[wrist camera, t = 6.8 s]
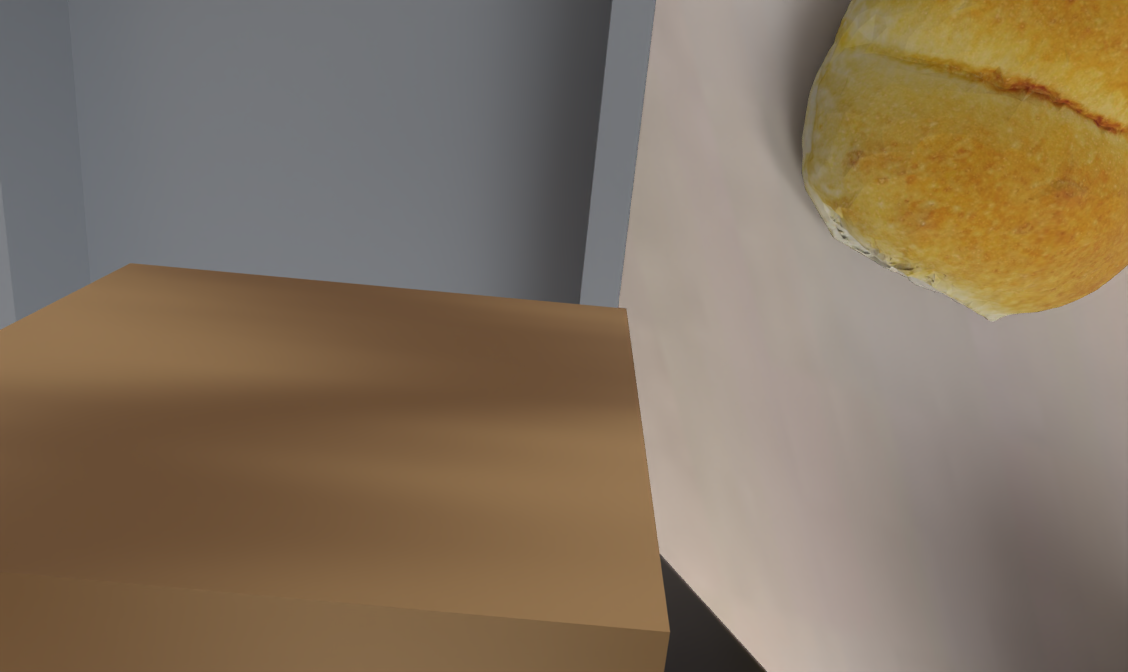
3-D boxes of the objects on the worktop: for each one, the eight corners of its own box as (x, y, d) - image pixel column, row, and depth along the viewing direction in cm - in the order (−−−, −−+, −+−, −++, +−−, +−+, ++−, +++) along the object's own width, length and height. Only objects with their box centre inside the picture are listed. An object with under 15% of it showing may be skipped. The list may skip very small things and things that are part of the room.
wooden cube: (625, 308, 9) (670, 633, 4) (579, 705, 10) (571, 1260, 6) (130, 263, 9) (-401, 534, 4) (162, 668, 10) (-189, 1195, 6)
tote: (700, -437, 17) (723, -552, 14) (576, 595, 25) (571, 682, 21) (4, -505, 17) (-140, -637, 14) (95, 543, 25) (17, 621, 21)
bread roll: (1269, -11, 19) (1434, -24, 15) (1024, 336, 22) (1113, 398, 18) (947, -195, 18) (1038, -256, 14) (734, 191, 21) (763, 224, 17)
